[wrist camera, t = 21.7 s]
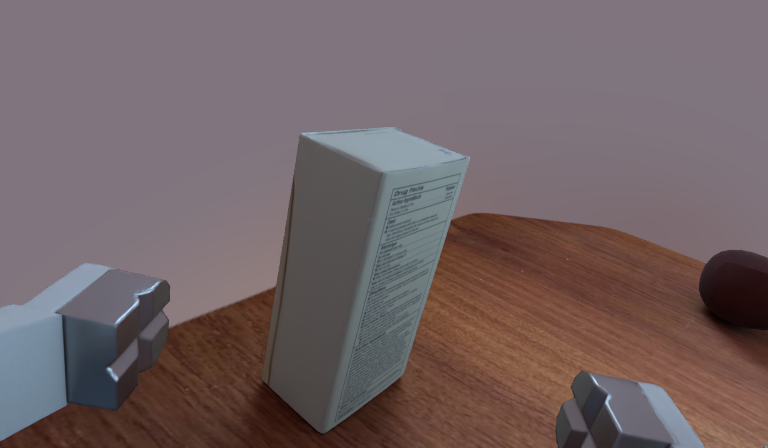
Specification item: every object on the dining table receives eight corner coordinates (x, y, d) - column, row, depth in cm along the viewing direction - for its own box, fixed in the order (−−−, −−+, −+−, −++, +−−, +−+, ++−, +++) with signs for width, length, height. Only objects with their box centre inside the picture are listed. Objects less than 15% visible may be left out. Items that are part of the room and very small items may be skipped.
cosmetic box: (345, 334, 27) (394, 125, 22) (407, 378, 25) (475, 156, 20) (255, 383, 22) (294, 127, 17) (322, 443, 20) (386, 169, 15)
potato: (785, 327, 42) (823, 269, 40) (778, 359, 36) (823, 293, 34) (695, 286, 46) (726, 232, 44) (676, 309, 40) (710, 247, 38)
